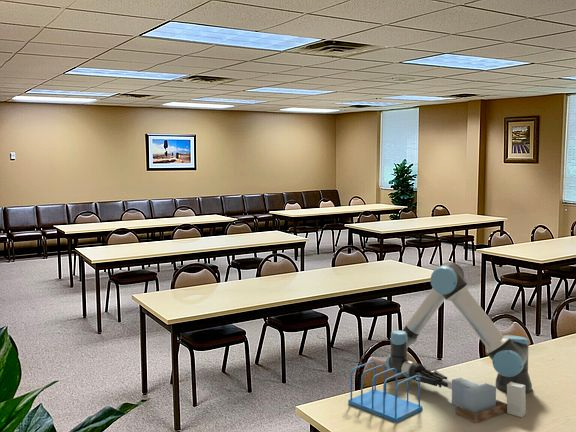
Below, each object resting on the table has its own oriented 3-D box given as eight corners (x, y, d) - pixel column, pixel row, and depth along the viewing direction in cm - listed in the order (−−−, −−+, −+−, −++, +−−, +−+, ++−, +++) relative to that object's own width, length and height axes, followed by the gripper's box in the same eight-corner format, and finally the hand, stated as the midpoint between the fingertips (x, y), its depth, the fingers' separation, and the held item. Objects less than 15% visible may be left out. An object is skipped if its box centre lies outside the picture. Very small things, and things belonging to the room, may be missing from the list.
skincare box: (525, 414, 231) (526, 384, 230) (521, 418, 227) (522, 387, 226) (510, 410, 235) (511, 380, 234) (506, 413, 231) (506, 384, 231)
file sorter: (347, 404, 242) (347, 368, 241) (374, 393, 254) (374, 359, 253) (396, 423, 224) (396, 384, 223) (422, 410, 236) (423, 373, 234)
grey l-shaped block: (466, 398, 247) (467, 375, 246) (495, 411, 234) (496, 387, 233) (444, 405, 240) (444, 381, 239) (472, 418, 227) (473, 393, 226)
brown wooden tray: (486, 403, 242) (486, 396, 242) (507, 411, 234) (507, 404, 233) (455, 414, 231) (456, 406, 231) (476, 423, 223) (476, 415, 223)
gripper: (424, 376, 267) (465, 392, 247) (403, 382, 259) (444, 399, 240) (424, 360, 266) (465, 374, 246) (403, 365, 259) (444, 381, 239)
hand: (455, 386), depth 243 cm, fingers closed
